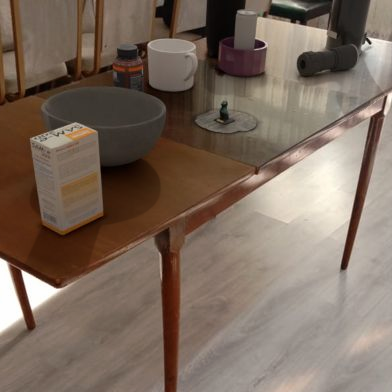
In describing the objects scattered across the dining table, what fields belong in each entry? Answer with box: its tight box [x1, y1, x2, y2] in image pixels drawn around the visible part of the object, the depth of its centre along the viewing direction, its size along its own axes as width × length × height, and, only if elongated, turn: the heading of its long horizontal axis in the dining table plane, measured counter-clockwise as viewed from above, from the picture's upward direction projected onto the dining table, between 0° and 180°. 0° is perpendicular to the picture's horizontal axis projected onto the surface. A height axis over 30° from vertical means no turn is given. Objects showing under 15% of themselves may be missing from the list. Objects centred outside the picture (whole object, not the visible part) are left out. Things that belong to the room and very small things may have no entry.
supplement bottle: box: [112, 43, 144, 93], centre depth 125 cm, size 6×6×11 cm
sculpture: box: [194, 100, 258, 134], centre depth 124 cm, size 12×9×8 cm
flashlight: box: [296, 44, 360, 77], centre depth 150 cm, size 15×5×5 cm, turn 121°
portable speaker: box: [204, 0, 247, 58], centre depth 152 cm, size 9×9×20 cm
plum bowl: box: [217, 37, 269, 78], centre depth 148 cm, size 11×11×6 cm
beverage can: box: [234, 9, 258, 50], centre depth 145 cm, size 5×5×12 cm
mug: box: [146, 38, 199, 93], centre depth 136 cm, size 13×10×8 cm
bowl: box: [40, 85, 167, 167], centre depth 105 cm, size 20×20×10 cm
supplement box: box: [29, 123, 104, 236], centre depth 88 cm, size 8×5×13 cm, turn 139°
